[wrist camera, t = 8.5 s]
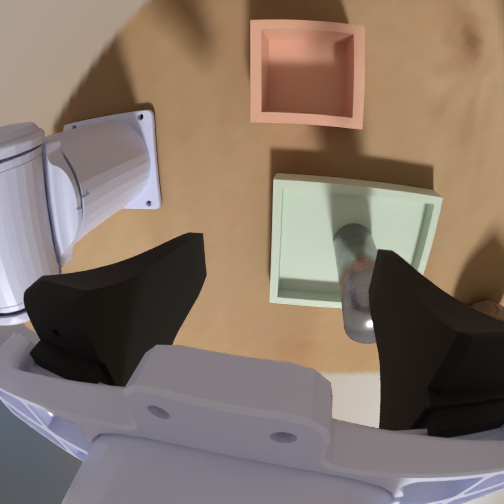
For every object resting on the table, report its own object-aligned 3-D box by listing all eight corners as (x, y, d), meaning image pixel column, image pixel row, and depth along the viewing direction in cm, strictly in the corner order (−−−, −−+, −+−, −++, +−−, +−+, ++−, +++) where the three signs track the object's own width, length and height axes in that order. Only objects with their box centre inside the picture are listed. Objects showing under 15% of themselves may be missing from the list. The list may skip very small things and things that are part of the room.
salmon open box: (260, 118, 19) (250, 122, 16) (260, 34, 16) (250, 20, 13) (351, 124, 18) (362, 129, 15) (353, 39, 15) (364, 26, 12)
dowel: (332, 259, 23) (341, 344, 15) (333, 223, 21) (347, 299, 13) (370, 259, 22) (394, 342, 14) (373, 223, 21) (406, 298, 13)
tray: (272, 289, 26) (269, 302, 24) (275, 173, 21) (273, 179, 19) (405, 299, 24) (410, 311, 22) (433, 189, 19) (442, 197, 17)
